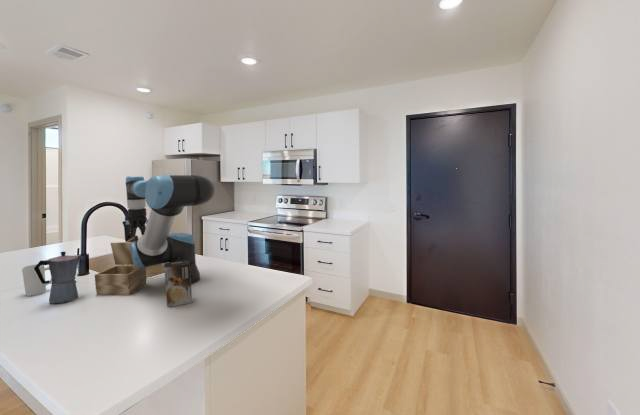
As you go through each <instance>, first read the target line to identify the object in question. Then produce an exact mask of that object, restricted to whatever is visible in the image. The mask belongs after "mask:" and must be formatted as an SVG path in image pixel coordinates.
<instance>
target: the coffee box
mask: <svg viewBox="0 0 640 415" xmlns="http://www.w3.org/2000/svg"><path fill="white" fill-rule="evenodd" d="M163 264H164V266H163V267H164V269H163V270H164V282H165V284H164V285H165V296H166V307H167V308H172V307H174V306H175V307H176V306H182V305H185V304H186V305H187V304H192V303H193V295H192V294H193V293H192V283H191V277H190V264H189V261H180V262H172V263H169V262H168V263H163Z"/></svg>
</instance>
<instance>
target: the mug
mask: <svg viewBox="0 0 640 415" xmlns="http://www.w3.org/2000/svg"><path fill="white" fill-rule="evenodd" d="M37 264H38V263H36V264H30V265H26V266H22V267H21V270H22V271H21V272H22V273H21V274H22V278H23V287H24V291H25V296H28V297H34V296H37V295H38V296H39V295H41V294H42V295H43V294H44V293H46V292H47V288H46V287H47V286H48V285H52V278H50V279H49V280H48V281H50V282H49V283H46V284H42V282H41V281H40V279H39V277H38V275H37V273H36V271H35V270H34V267H35V266H36V265H37ZM39 269H40V272H41V274H42V276H43V279H44V280H45V281H46V274H45V272H46V271H50V268H49V265H47V267H46V266H45V265H41V266H40V267H39Z"/></svg>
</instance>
